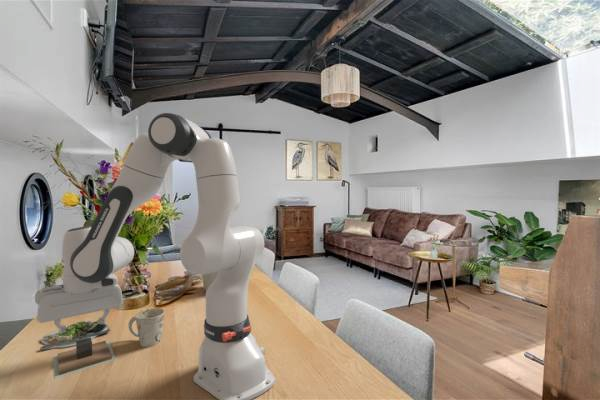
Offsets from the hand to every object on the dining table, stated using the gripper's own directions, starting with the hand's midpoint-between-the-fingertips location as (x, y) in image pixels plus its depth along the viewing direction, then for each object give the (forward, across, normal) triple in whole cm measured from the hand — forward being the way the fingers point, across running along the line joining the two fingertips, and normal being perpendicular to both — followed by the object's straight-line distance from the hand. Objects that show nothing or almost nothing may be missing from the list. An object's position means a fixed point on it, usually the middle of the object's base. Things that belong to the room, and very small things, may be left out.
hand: (83, 328), depth 90 cm
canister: (+10, +57, +33) cm, 66 cm away
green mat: (+9, 0, -1) cm, 9 cm away
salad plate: (+10, 0, +18) cm, 21 cm away
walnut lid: (+8, 0, -1) cm, 9 cm away
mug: (+9, +16, -2) cm, 19 cm away
